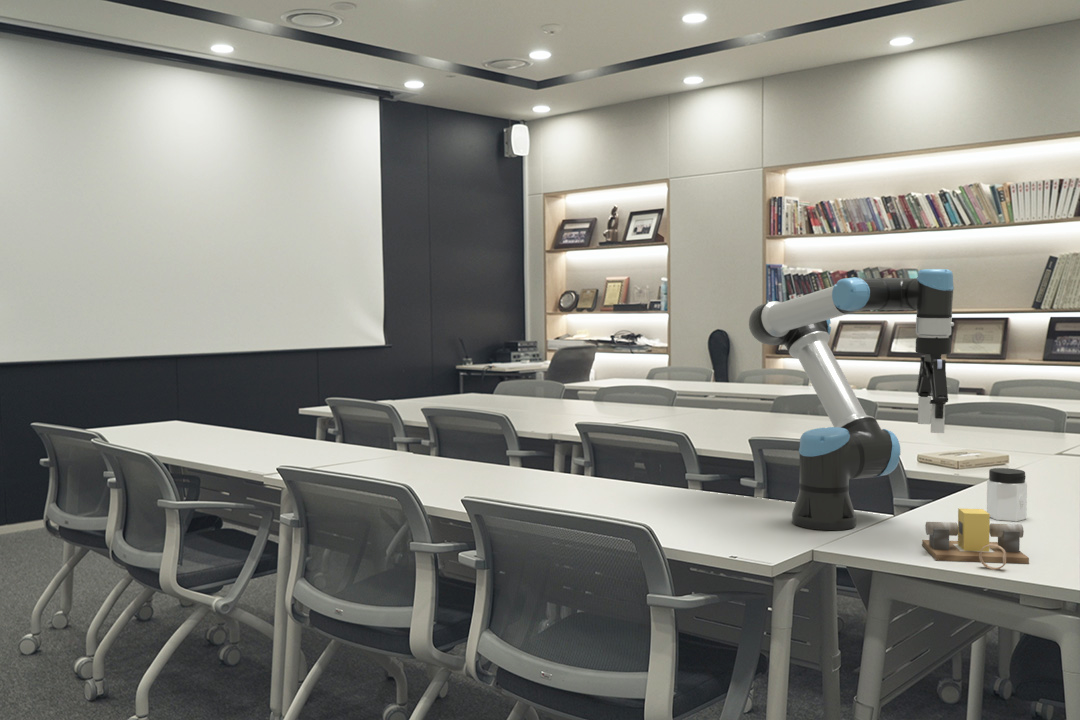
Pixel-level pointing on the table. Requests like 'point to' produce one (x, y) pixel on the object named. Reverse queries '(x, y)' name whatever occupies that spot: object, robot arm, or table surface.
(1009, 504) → the jar
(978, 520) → the yellow rectangular block
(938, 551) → the shaft base
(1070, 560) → the table surface
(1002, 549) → the rose gold watch bracelet
